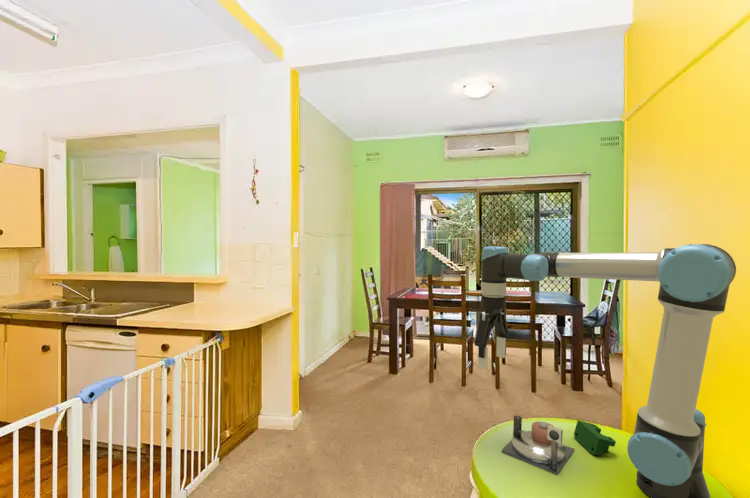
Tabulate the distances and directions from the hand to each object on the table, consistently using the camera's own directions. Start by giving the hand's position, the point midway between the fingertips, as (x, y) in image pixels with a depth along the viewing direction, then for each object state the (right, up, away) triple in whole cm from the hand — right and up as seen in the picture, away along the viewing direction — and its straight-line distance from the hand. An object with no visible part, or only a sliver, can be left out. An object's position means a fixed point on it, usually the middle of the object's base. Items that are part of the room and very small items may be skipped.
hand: (492, 362), depth 123 cm
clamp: (+31, -26, -2) cm, 41 cm away
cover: (+16, -23, -1) cm, 28 cm away
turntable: (+13, -26, -5) cm, 29 cm away
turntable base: (+13, -26, -5) cm, 29 cm away
